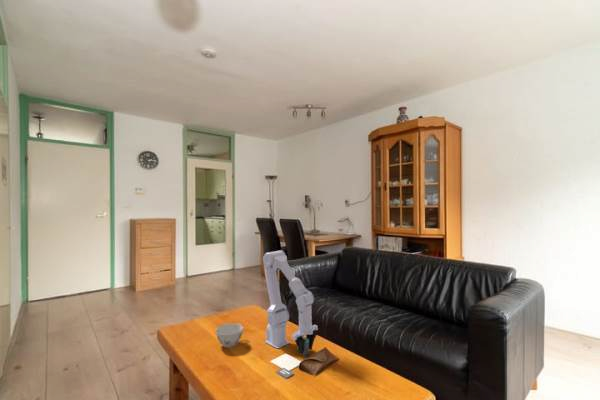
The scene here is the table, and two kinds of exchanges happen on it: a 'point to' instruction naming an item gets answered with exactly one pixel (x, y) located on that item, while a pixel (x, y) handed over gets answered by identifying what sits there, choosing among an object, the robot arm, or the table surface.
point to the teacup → (229, 334)
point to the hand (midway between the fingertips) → (305, 350)
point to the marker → (306, 347)
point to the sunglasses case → (317, 362)
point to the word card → (284, 373)
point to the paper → (286, 362)
